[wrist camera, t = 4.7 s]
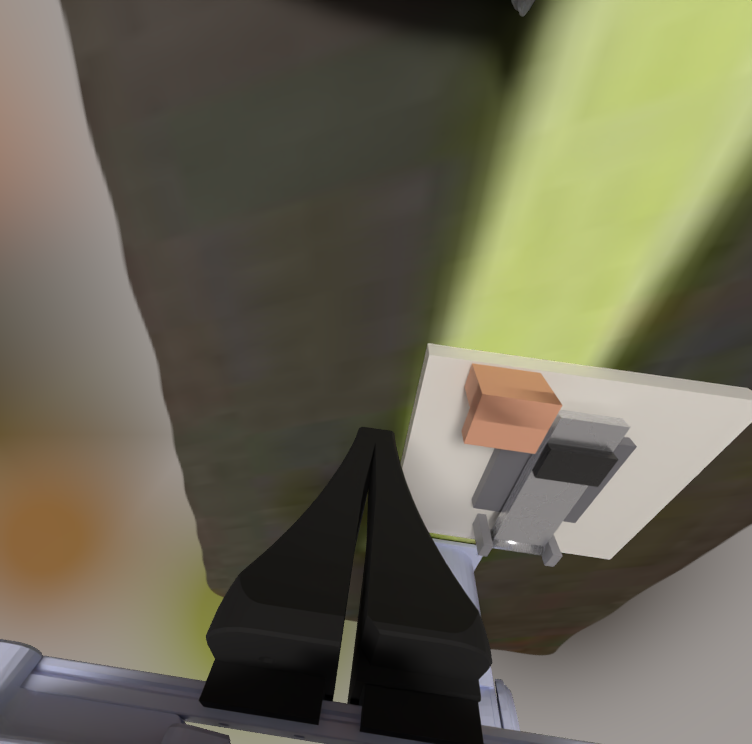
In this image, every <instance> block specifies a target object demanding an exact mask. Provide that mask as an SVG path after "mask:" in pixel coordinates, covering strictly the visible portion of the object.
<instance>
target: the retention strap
mask: <svg viewBox="0 0 752 744" xmlns="http://www.w3.org/2000/svg"><path fill="white" fill-rule="evenodd" d="M630 428H631V427H630V426H629V425H628V424H627V423H626V422H625V421H624V420H623V419H622V418H615V417H608V416H601V415H594V414H587V413H580V412H573V411H566V410H560V411H559V413H558V414H557V416H556V418H555V420H554V421H553V423H552V425H551V427H550V429H549V430H548V432H547V434H546V436H545V437H544V439H543V441H542V443H541V445H540V446H539V448H538V450H537V452H536V453H535V454H531V456H530V458H529V460H528V462H527V464H526V465H525V467H524V469H523V471H522V473H521V475H520V477H519V479H518V481H517V482H516V484H515V486H514V488H513V490H512V492H511V494H510V496H509V498H508V499H507V501H506V503H505V505H504V507H503V509H502V511H501V513H500V514H499V516H498V518H497V520H496V522H495V524H494V526H493V528H490V534H491V538H492V543H493V547H492V548H496V549H502V550H509V551H516V552H522V553H529V554H536V555H543V554H544V551H545V545H546V544H547V543H548V541H549V540H550V538H551V537H552V536H553V534H554V533H555V532H556V530H557V529H558V527H559V526H560V525H561V523H562V522H563V520H564V519H565V518H566V516H567V515H568V514H569V512H570V511H571V509H572V508H573V507H574V505H575V504H576V502H577V501H578V500H579V498H580V497H581V496H582V494H583V493H584V491H585V490H586V489H587V487H588V486H594V487H598V486H599V485H600V484H601V482H602V481H603V480H604V478H605V477H606V476H607V474H608V473H609V472H610V470H611V469H612V468H613V466H614V465H615V464H616V462H617V461H618V458H617V457H616V456H615V454H614V453H613V451H614V450H615V448H616V447H617V446H618V444H619V443H620V442H621V440H622V439H623V437H624V436H625V435H626V433H627V432H628V430H629V429H630Z"/></svg>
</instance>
